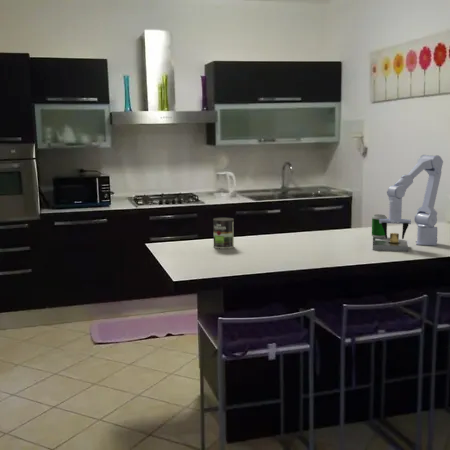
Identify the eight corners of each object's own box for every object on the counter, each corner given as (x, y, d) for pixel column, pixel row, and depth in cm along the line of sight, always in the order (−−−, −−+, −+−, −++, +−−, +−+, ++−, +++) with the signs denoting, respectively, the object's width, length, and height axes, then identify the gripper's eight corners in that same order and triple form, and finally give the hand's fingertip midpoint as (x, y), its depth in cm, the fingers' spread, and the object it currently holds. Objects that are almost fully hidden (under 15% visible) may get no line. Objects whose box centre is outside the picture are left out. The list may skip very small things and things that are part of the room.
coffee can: (228, 249, 274) (227, 221, 272) (209, 247, 279) (209, 219, 277) (237, 245, 283) (237, 218, 281) (219, 244, 288) (219, 216, 286)
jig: (406, 246, 276) (406, 238, 275) (407, 251, 264) (408, 243, 264) (372, 245, 280) (372, 237, 279) (372, 250, 268) (372, 241, 268)
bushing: (398, 247, 274) (398, 233, 273) (398, 248, 270) (399, 234, 269) (389, 246, 275) (390, 232, 274) (389, 248, 271) (390, 234, 270)
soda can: (382, 239, 294) (383, 216, 292) (369, 237, 298) (369, 215, 296) (388, 237, 300) (389, 214, 298) (374, 235, 304) (375, 213, 302)
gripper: (379, 211, 267) (378, 239, 270) (411, 212, 264) (410, 240, 266) (379, 209, 274) (378, 236, 276) (410, 209, 270) (409, 237, 273)
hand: (394, 238), depth 272 cm, fingers open, 7 cm apart
